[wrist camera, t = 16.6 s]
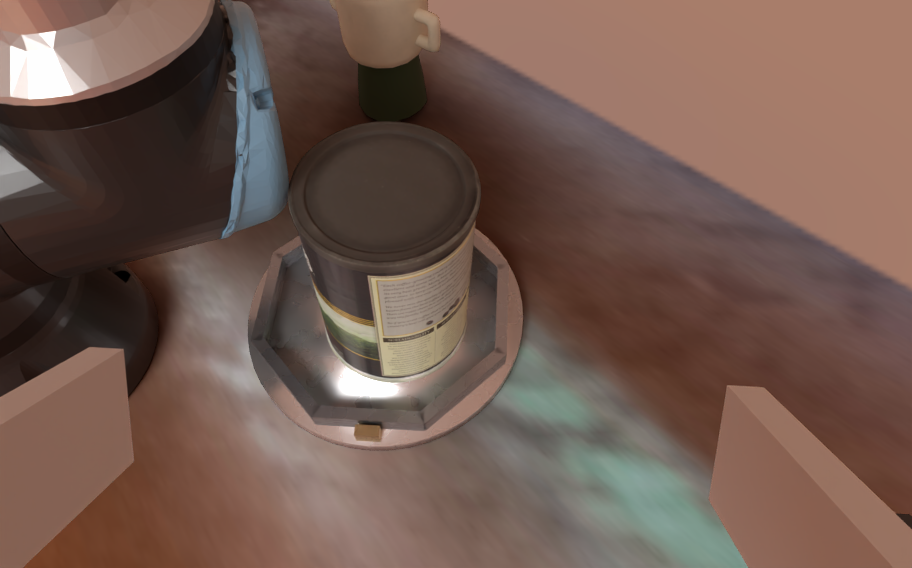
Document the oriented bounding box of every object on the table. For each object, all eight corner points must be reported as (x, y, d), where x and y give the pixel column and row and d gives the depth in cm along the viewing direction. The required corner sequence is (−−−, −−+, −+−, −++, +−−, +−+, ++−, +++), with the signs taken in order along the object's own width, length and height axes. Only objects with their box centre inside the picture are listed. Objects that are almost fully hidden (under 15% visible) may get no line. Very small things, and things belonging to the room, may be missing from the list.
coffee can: (308, 374, 43) (262, 250, 31) (343, 253, 49) (315, 110, 37) (459, 394, 42) (469, 277, 31) (476, 270, 48) (490, 130, 36)
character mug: (463, 102, 59) (464, -29, 48) (420, 151, 56) (409, 22, 45) (369, 60, 62) (350, -73, 51) (323, 103, 59) (291, -28, 48)
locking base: (221, 441, 42) (209, 429, 40) (282, 205, 53) (274, 185, 50) (520, 459, 42) (523, 448, 39) (523, 216, 52) (525, 196, 50)
